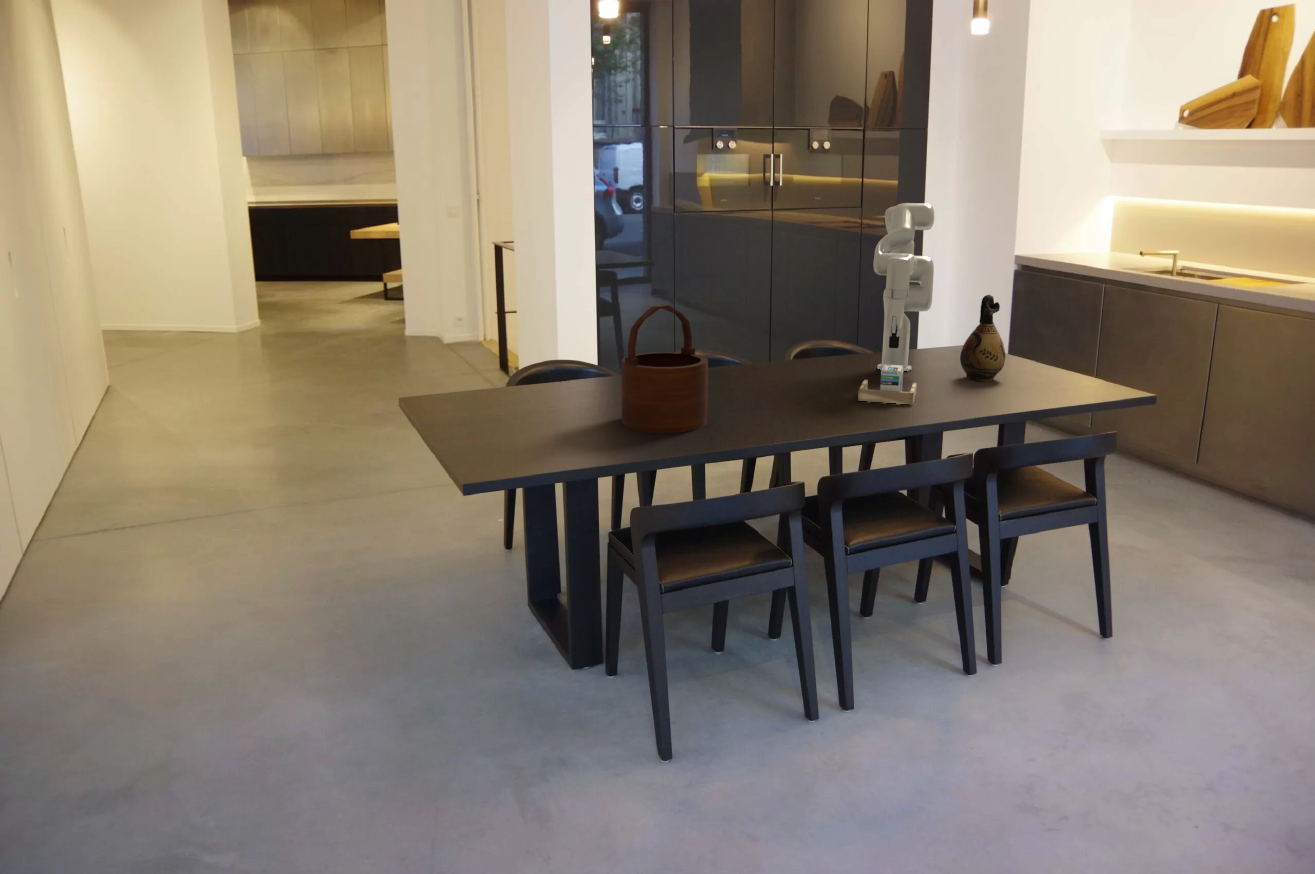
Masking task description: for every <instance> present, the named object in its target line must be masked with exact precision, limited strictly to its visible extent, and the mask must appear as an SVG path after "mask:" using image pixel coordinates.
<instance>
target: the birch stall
mask: <svg viewBox="0 0 1315 874" xmlns="http://www.w3.org/2000/svg"><path fill="white" fill-rule="evenodd" d="M868 385H869V380H868V379H864V380H863V381H862V383H861V385H860V387H858V388H859V389H858V392H857V393H858V395H857V396H858V397H857V399H858V400H857V401H867V402H866V403H871V402H883V403H882V404H886V403H896V404H895V405H900V404H911V405H910V406H914V403H913V402H914V401H915V400H916V397H915V396H917V388H918V387H917V386H918V383H917V382H912V386H911V388H910V391H902V392H900V391H884V390H880V389H868ZM914 399H915V400H914Z"/></svg>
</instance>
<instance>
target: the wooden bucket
mask: <svg viewBox="0 0 1315 874" xmlns="http://www.w3.org/2000/svg"><path fill="white" fill-rule="evenodd" d="M660 310H665V311H667V312H669V313H672V314H674V315H675V316H676V318H678V320H679V321H680V322H681V327H682V334H683V346H682V347H680V352H678V351H677V352H676V351H655V352H654V351H652V352H641V353H636V345H637V339H638V335H639V333H638V332H639V329H640V328H641V326H642V325H643V324H644V322H645V321H646V319H648V318H649V317H651V316H653V314H655V313H657V312H658V311H660ZM692 337H693V336H692V331H691V325H690V321H689V320H688V319H687V317H686V316H685V315H684V314H683V313H682V312H681V311H679V310H678V309H675V308H674V307H672V306H671V305H668V304H659V305H653V306H650V308H649V309H647V310H646V311H645V312H644V313H643V314H642V315H641V316H639V317H638V318H637V320H636V321H635V322H634V324H633V325H632V327H631V328H630V333H629V337H628V344H627V355H626V356H624V357H623V358H622V359H621V424H622V425H623V427H625V428H626V429H630V430H632V431H635V430H637V431H636V432H640V431H642V433H647V432H651V433H650V434H675V433H674V432H683V433H687V432H686V431H689V432H692V431H691V430H695V431H697V430H696V429H698V430H700V429H699V428H701V429H703V428H705V427H706V426H707V425H708V408H709V406H708V403H709V402H708V399H709V397H708V396H709V395H708V394H709V393H708V392H709V384H708V383H709V379H708V378H709V358H707V357H705V356H703V355H699V354H696V347H693V344H692V343H693V342H692V341H693V340H692V339H693V338H692ZM706 424H707V425H706ZM705 425H706V426H705ZM704 426H705V427H704ZM702 427H703V428H702Z"/></svg>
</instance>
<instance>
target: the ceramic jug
mask: <svg viewBox="0 0 1315 874" xmlns="http://www.w3.org/2000/svg"><path fill="white" fill-rule="evenodd" d="M1000 309H1001V306H1000V303H999V302H996V301H995V300H994V296H992V295H991V294H985V296H983V298H982V299H981V303H980V312H979V313H980V315H979V324H977V326H976V327H975V328H974V330H973V331H972V332H971V333H970V334H969V336H968V337H967V338H966V339H965V342H964V343H963V346H962V349H961V352H960V357H959V359H960V360H959V361H960V366H961V368H962V370H963V371H964V373H965V375H966V376H965V377H966V379H967V381H971V382H972V381H973V382H976V383H977V382H978V383H985V382H988V383H989V382H993V381H994V379H995V377H996V376H997V375H998V374H999V373H1000V372H1001V371H1002V369H1003V368H1004V366H1005V362H1006V356H1007V355H1006V348H1005V343H1004V341H1003V339H1002V337H1001V335H1000V333H999V331H998V329H997V327H996V326H995V323H994V314H996V313H998V312H999V311H1000Z"/></svg>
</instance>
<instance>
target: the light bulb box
mask: <svg viewBox="0 0 1315 874" xmlns="http://www.w3.org/2000/svg"><path fill="white" fill-rule="evenodd" d="M903 381H904V372H903V366H902V365H888V364H884V365H883V367H882V370H880V385H879V390H884V391H900V392H903V384H904V383H903Z"/></svg>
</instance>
